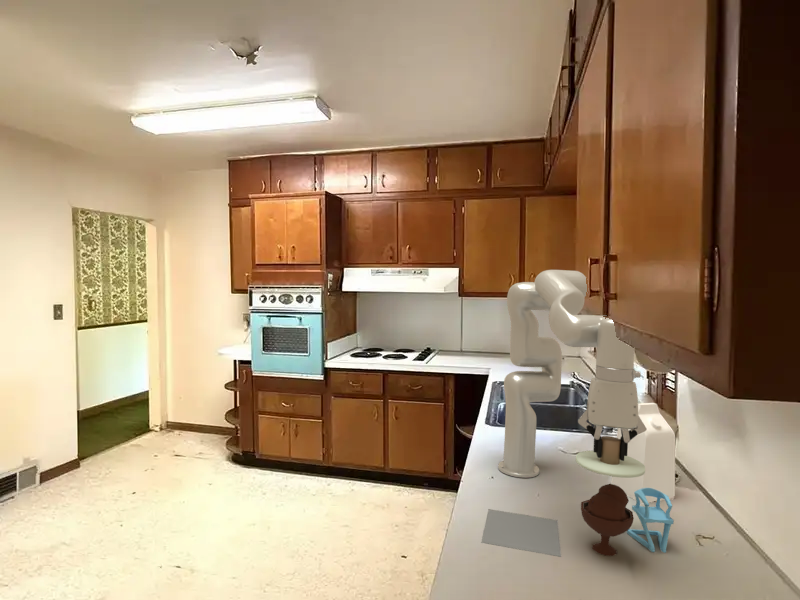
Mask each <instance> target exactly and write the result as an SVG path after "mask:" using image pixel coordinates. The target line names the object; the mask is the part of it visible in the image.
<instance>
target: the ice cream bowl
mask: <svg viewBox="0 0 800 600" xmlns="http://www.w3.org/2000/svg"><path fill="white" fill-rule="evenodd" d="M628 503H629V497H628V496H627V495H626V493H625V492H624V490H623V489H621V488H620V487H619V486H617V485H613V484H611V483H609V484H604V485H602V486H600V487H599V488H598V492H597V493H595V494H594V495H592V496H591V497H590V498H589V499H586V500H583V501H581V503H580V510H581V516H582V519H583V521H584V522H585V523H586V524H587V525H588V527H590V528H591V529H592V530H594V532H596V533H597V534H599V535H600V542H596V543H594V544H592V547H591V548H592V550H593V551H594V552H596V554H597V553H598V554H599V555H602V556H608V557H613V556H616V555H617V554H618V551H617V549H616V548H614V547H613V546H612V545H610V538H611V537H617V536H619V535H622V534H624V533H625V532H626V533H627V530H629V529H631V527H632V526H633V523H634V519H635V517H634V514H633V513H634V511H632V510H630V509H629V508H627V505H628Z"/></svg>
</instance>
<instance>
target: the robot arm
mask: <svg viewBox="0 0 800 600" xmlns="http://www.w3.org/2000/svg"><path fill="white" fill-rule="evenodd" d="M586 278H587V276H586V275H584V273H583V272H580V271H579V270H568V269H567V270H565V269H546V270H543V271H541V272H540V273H539V274H537V275H536V277H535V279H534V282H533V281H532V282H531V281H522V282H516V283H514V284H513V285H511V286H510V288H509V289H508V292H507V294H506V295H507V296H506V305H507V310H508V314H509V318H510V339H509V342H510V343H509V358H510V362H511V363H512V364H513V365H514V366H516V367H520V368H521V367H522V368H541V371H540V370H535V371H534V370H516V371H511V372H509V373H508V374H507V375H505V377H504V381H503V390H504V398H505V420H504V421H505V422H504V423H505V424H504V443H503V444H504V445H503V460H502V461H500V462H499V463H498V470H499V471H500V472H502V473H503V474H505V475H507V476H511V477H514V478H522V479H526V478H528V479H529V478H534V477H538V475H539V474H540V468H539V467H538V466H537V465H536V464H535V462H536V461H535V459H536V457H535V455H536V442H537V441H536V439H537V437H536V436H537V415H536V412H535V410H534V409H533V408H532V406H531V404H530V403H536V402H538V403H539V402H542V403H543V402H554V401H556V400H558V398H559V396H560V393H561V388H562V367H563V365H562V364H563V363H562V362H563V361H562V359H563V355H562V348H561V345H560V343H559V342H558V341H557V339H558V340H559V341H560V342H561V343H563V344H564V345H566V346H567V347H570V348H571V347H572V348H596V359H595V377H593V378H591V379H590V383H589V387H588V395H587V401H586V403H587V404H586V409H585V411H584V412H583V413H582V414H581V415H580V417H579V418H578V419H577V423H578V425H580V426H581V427H582V428H584V429H586V431H588V433H589V434H590V435H591V436H592V437H593V451H594V452H596V454H597V457H598V458H600V457H601V454H602V440H601V437H602V436H601V433H602V430H603V427H606V428H615V429H618V428H621V435H622V437H621V439H620V440H621V445H620V460H621V461H624V456H627V450H628V443H629V442H630V440H631V439H633V438H634V437H635V436H637V435H638V434H640V433H642V432H645V431H646V430H647V428H646V427H645V425H644V424H643V422H642V420H641V419H640V417H639V416H638V404H639V401H638V400H639V399H638V396H639V395H638V389H637V383H636V382H635V379H636V378H639V379H641V371H639V370H638V371H637V370H635V368H634V366H635V365H634V363H635V362H634V361H635V348H634V349H633V348H632V347H630V346H628V345H626V344H625V343H623V342H621V341H619V340H618V339H619V338H617V337H616V332H615V326H614V322H613V320H612V319H609V318H606V319H605V317H603V316H604V315H593V314H580V312H581V311H582V310H583V308H584V305H585V297H586V296H587V295H586V292H587V284H586ZM587 293H588V292H587ZM533 311H547V312H548V323H549V327H550V329H551V331H552V333H553V334H554V335H555V337H556V338H557V339H556V338H553V337H547V336H539V326H540V325H539V319H537V317H536V315H535V313H534V312H533ZM587 421H588V422H587ZM592 425H593V426H592ZM628 429H631V430H629V431H628Z"/></svg>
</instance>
